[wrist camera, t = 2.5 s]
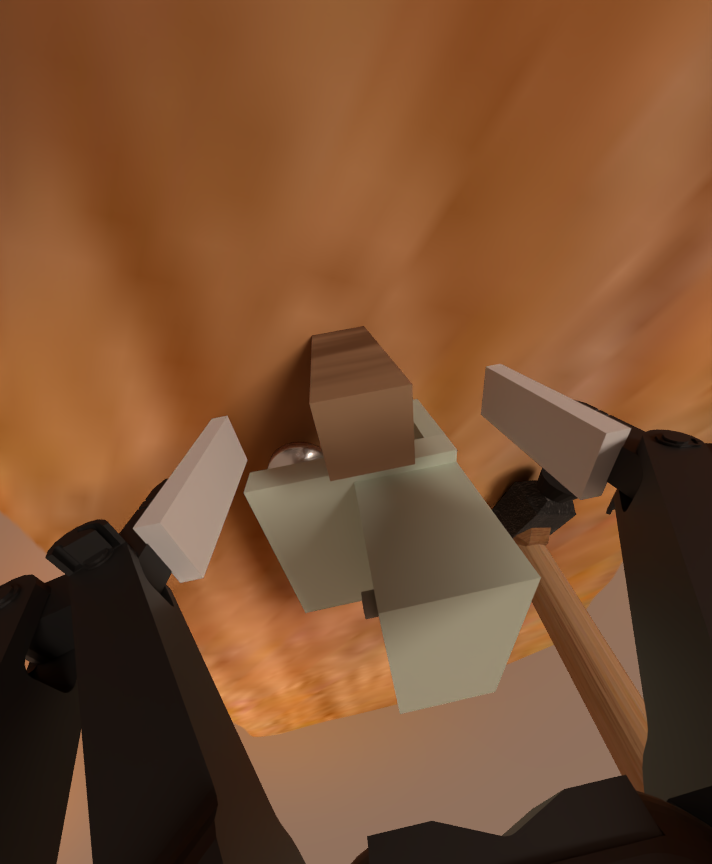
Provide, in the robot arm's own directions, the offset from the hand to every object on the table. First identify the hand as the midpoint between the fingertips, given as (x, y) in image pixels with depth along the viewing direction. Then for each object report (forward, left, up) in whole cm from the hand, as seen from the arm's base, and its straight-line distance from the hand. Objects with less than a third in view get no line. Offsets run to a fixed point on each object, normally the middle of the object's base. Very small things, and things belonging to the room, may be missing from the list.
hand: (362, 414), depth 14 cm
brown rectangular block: (+7, 0, -9) cm, 11 cm away
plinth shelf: (+13, -1, -9) cm, 16 cm away
